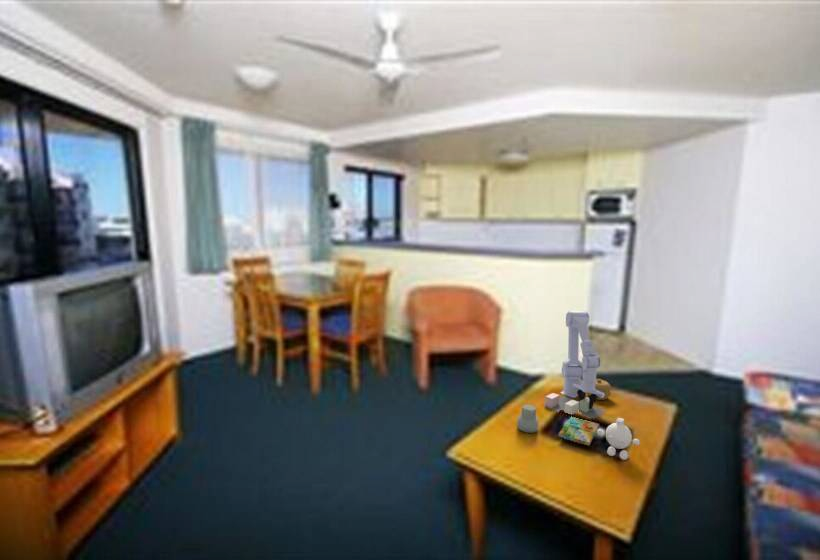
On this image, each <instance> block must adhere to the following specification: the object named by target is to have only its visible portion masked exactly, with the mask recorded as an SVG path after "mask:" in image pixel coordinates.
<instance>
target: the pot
mask: <svg viewBox="0 0 820 560" xmlns="http://www.w3.org/2000/svg"><path fill="white" fill-rule="evenodd" d="M595 389H596V390H598V391H600V392H603V393H604V397H603V398H601V397H599V396H598V398H597V399H596V400H597V401H602V400H607V399H608V398H609V397H610V396H611V393H612V392H611V389H612V386H611V384H610V383H609V382H608V381H606V380H605V379H604V380H603V379H601V378H596V383H595ZM586 395H588V397H589V396H590V395H591V394H590V393H586Z"/></svg>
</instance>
